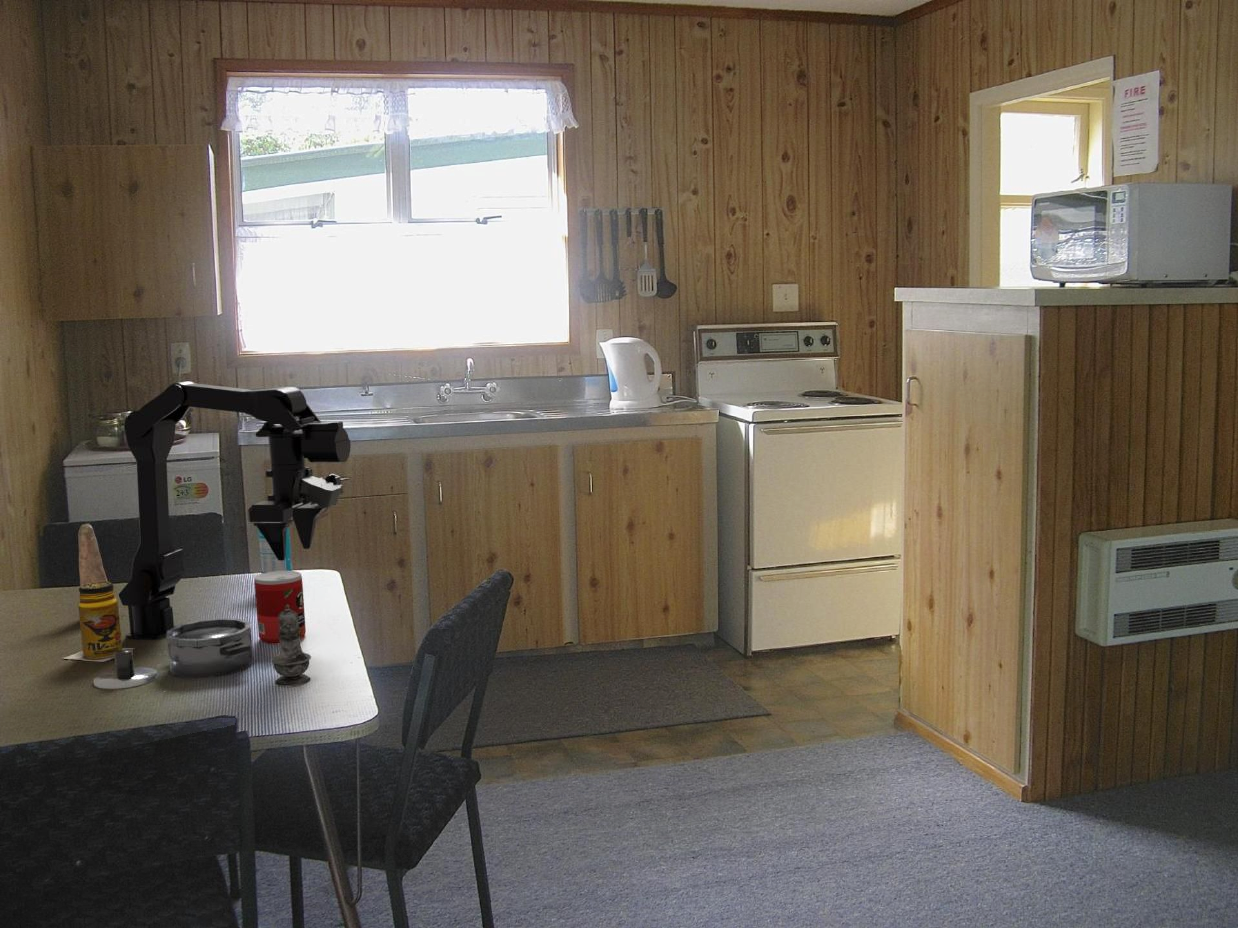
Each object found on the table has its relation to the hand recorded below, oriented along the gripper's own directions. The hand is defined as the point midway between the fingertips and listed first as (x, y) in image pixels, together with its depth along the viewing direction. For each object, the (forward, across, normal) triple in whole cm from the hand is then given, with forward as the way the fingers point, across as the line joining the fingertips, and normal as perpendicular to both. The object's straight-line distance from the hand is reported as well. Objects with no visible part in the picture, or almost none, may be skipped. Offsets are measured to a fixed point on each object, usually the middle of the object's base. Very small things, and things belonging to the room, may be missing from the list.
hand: (294, 554), depth 208 cm
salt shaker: (+15, -22, -10) cm, 28 cm away
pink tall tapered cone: (+15, +10, +45) cm, 49 cm away
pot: (+15, -16, +7) cm, 23 cm away
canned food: (+15, 0, +3) cm, 15 cm away
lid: (+15, -24, +17) cm, 33 cm away
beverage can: (+15, +33, +21) cm, 42 cm away
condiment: (+15, -12, +30) cm, 36 cm away
